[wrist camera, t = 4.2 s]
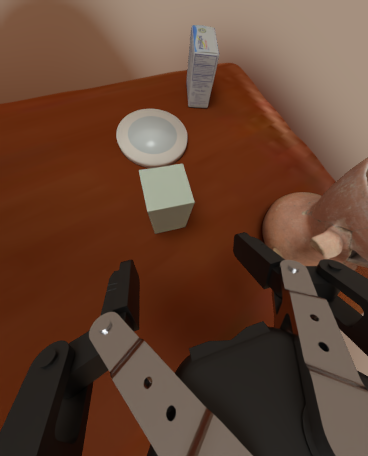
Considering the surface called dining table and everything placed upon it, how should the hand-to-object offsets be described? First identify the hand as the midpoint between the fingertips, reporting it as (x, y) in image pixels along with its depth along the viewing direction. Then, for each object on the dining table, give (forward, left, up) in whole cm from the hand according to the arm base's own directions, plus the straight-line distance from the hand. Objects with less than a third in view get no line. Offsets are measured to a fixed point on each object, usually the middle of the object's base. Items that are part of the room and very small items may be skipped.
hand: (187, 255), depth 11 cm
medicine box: (+13, +35, -12) cm, 39 cm away
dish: (+1, +24, -12) cm, 27 cm away
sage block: (0, +8, -12) cm, 14 cm away
